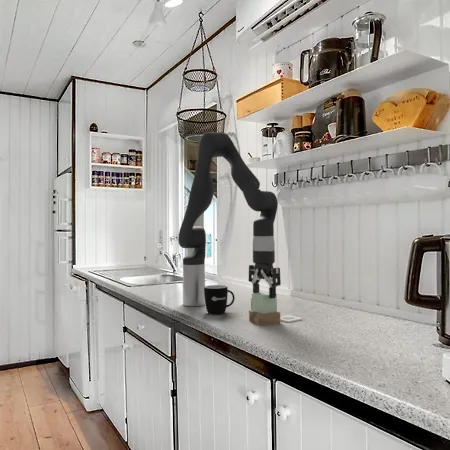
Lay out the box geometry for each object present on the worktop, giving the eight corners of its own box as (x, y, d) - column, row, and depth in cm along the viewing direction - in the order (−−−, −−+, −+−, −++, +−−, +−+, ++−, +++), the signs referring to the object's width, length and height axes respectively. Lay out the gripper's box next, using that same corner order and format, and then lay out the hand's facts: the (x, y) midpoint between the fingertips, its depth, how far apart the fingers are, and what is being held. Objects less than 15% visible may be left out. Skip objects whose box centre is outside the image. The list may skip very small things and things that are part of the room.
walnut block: (249, 321, 149) (249, 310, 149) (270, 319, 152) (269, 308, 152) (258, 326, 142) (258, 314, 142) (280, 324, 144) (280, 312, 144)
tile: (273, 319, 151) (273, 317, 151) (288, 316, 155) (288, 314, 155) (287, 322, 145) (287, 320, 145) (302, 319, 149) (302, 317, 149)
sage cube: (252, 311, 148) (251, 293, 148) (265, 308, 151) (265, 291, 151) (263, 313, 143) (262, 295, 143) (276, 311, 146) (276, 293, 146)
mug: (208, 316, 158) (208, 288, 158) (201, 312, 166) (201, 285, 166) (238, 313, 162) (238, 286, 162) (230, 309, 170) (230, 284, 170)
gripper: (242, 248, 151) (242, 295, 151) (268, 250, 139) (269, 300, 139) (259, 248, 155) (259, 292, 155) (286, 249, 143) (286, 298, 143)
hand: (264, 296), depth 147 cm, fingers open, 8 cm apart
